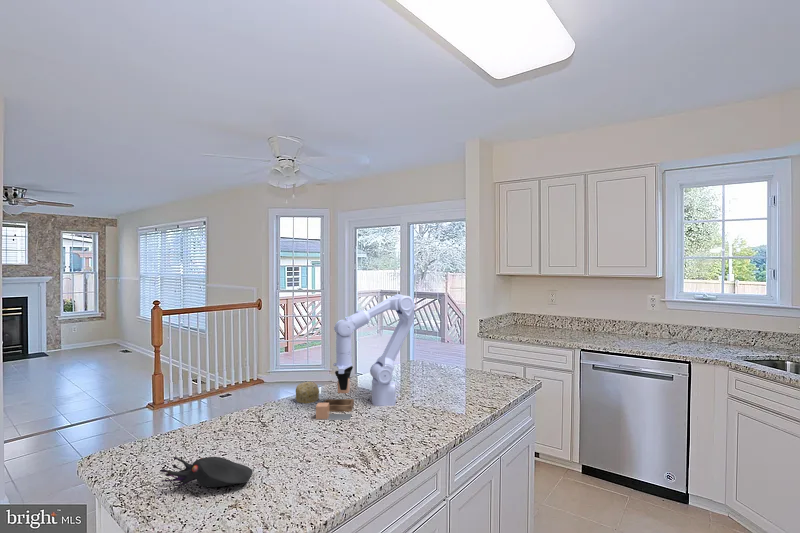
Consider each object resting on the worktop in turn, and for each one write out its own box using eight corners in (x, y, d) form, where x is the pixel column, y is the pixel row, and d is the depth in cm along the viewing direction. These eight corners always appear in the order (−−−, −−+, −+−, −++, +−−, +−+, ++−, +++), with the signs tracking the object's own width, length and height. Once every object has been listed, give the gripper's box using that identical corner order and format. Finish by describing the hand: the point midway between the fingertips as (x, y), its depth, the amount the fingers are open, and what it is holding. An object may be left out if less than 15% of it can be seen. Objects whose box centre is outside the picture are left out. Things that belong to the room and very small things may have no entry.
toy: (166, 471, 112) (182, 436, 112) (241, 499, 114) (256, 464, 114) (147, 492, 102) (164, 453, 102) (230, 522, 104) (246, 484, 104)
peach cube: (349, 389, 162) (349, 378, 162) (348, 393, 158) (348, 381, 158) (339, 390, 162) (339, 378, 162) (337, 393, 158) (337, 381, 158)
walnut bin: (353, 406, 164) (353, 399, 163) (351, 413, 157) (351, 405, 156) (325, 407, 164) (325, 399, 164) (321, 413, 157) (321, 405, 157)
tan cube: (329, 415, 153) (329, 402, 153) (327, 419, 149) (327, 406, 149) (318, 415, 153) (318, 402, 153) (316, 419, 149) (315, 406, 149)
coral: (316, 396, 176) (316, 378, 176) (321, 403, 168) (321, 384, 168) (294, 399, 173) (293, 381, 173) (297, 407, 164) (297, 387, 164)
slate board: (351, 416, 154) (351, 413, 154) (349, 421, 149) (349, 419, 148) (319, 416, 154) (319, 414, 154) (315, 422, 149) (315, 419, 149)
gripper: (336, 347, 167) (337, 382, 167) (329, 356, 152) (330, 394, 153) (354, 347, 167) (354, 382, 167) (349, 356, 152) (349, 393, 153)
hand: (344, 387), depth 160 cm, fingers closed on peach cube, 4 cm apart
